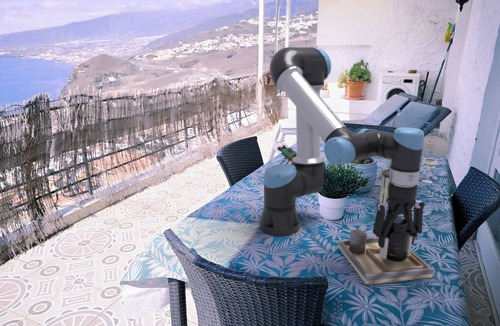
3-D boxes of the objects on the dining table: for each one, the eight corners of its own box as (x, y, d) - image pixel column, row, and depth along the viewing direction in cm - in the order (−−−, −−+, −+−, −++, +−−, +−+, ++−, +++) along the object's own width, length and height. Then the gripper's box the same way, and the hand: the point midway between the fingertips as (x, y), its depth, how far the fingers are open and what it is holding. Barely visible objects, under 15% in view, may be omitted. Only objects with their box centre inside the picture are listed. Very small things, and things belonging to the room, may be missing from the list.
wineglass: (431, 179, 175) (434, 157, 172) (437, 183, 168) (440, 160, 165) (417, 179, 176) (420, 157, 172) (422, 183, 169) (426, 160, 166)
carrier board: (366, 284, 93) (368, 261, 91) (338, 247, 112) (339, 227, 110) (432, 277, 95) (435, 255, 93) (394, 242, 114) (396, 223, 112)
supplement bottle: (386, 248, 105) (390, 213, 102) (409, 255, 101) (414, 219, 98) (378, 257, 100) (383, 221, 97) (402, 265, 96) (408, 228, 93)
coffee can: (401, 199, 150) (404, 169, 146) (406, 209, 140) (410, 177, 136) (377, 198, 152) (380, 168, 148) (381, 207, 142) (384, 175, 138)
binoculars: (283, 180, 188) (297, 159, 180) (265, 164, 192) (277, 144, 184) (294, 173, 199) (307, 153, 191) (276, 158, 203) (288, 139, 196)
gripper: (376, 190, 89) (369, 265, 96) (444, 185, 92) (432, 258, 98) (363, 180, 96) (357, 251, 103) (426, 176, 99) (417, 245, 105)
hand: (394, 254), depth 101 cm, fingers closed on supplement bottle, 7 cm apart
